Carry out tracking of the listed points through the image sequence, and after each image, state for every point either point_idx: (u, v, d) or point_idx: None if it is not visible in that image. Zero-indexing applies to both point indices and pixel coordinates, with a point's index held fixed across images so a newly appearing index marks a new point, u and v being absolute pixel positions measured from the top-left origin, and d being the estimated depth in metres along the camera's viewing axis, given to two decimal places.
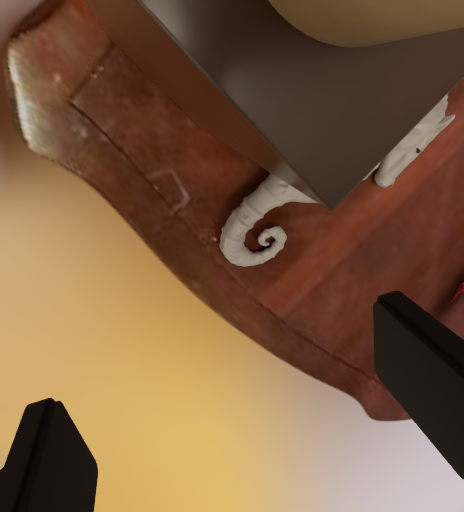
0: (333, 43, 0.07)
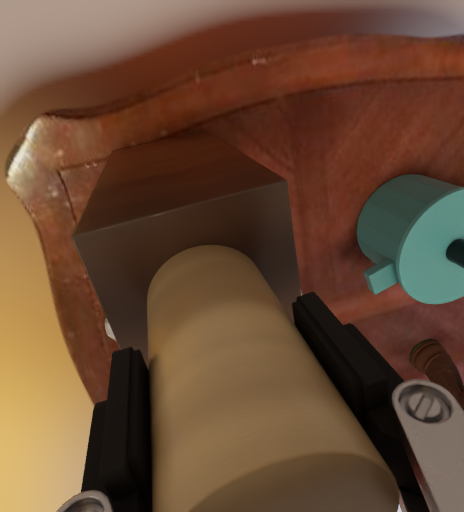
0: None
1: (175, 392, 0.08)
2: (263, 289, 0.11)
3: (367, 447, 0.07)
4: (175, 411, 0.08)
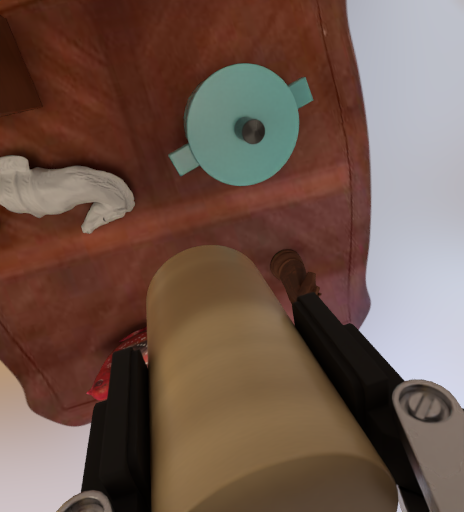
0: None
1: (174, 393, 0.08)
2: (262, 290, 0.11)
3: (366, 448, 0.07)
4: (175, 411, 0.08)
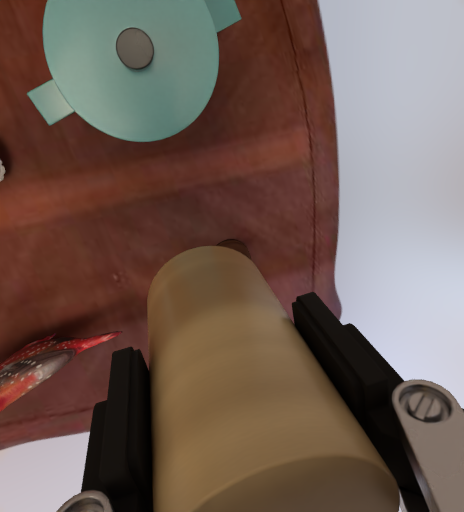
0: None
1: (176, 394, 0.08)
2: (263, 290, 0.11)
3: (368, 450, 0.07)
4: (176, 412, 0.08)
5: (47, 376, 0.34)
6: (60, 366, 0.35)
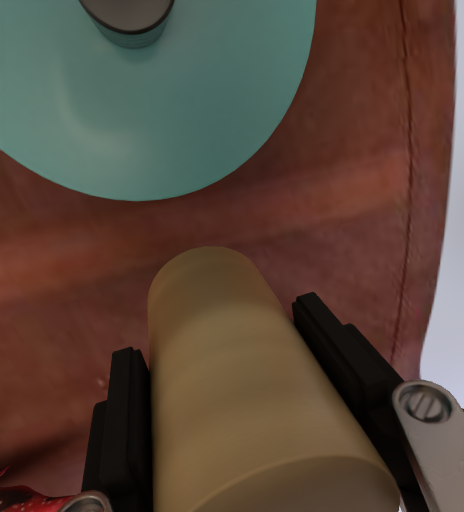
0: None
1: (176, 394, 0.08)
2: (264, 291, 0.11)
3: (368, 450, 0.07)
4: (177, 413, 0.08)
5: None
6: None
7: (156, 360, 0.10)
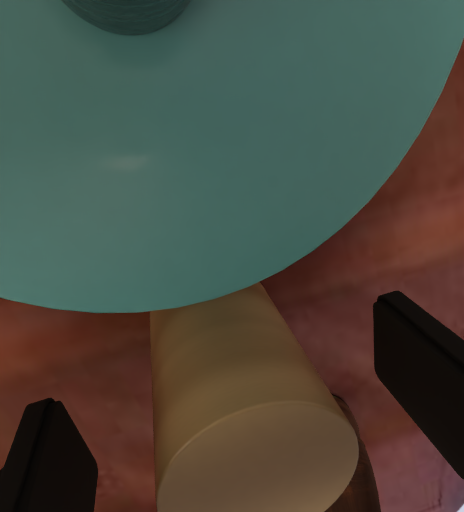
0: None
1: (173, 363, 0.09)
2: None
3: (329, 403, 0.08)
4: (174, 377, 0.09)
5: None
6: None
7: (157, 340, 0.11)
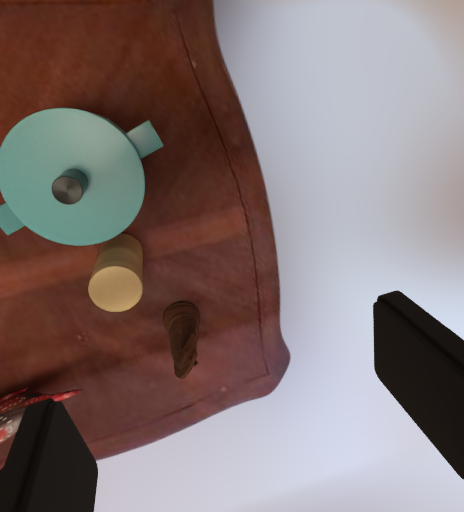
0: None
1: (96, 264, 0.35)
2: (130, 245, 0.38)
3: (130, 269, 0.33)
4: (95, 266, 0.34)
5: None
6: None
7: (95, 262, 0.37)
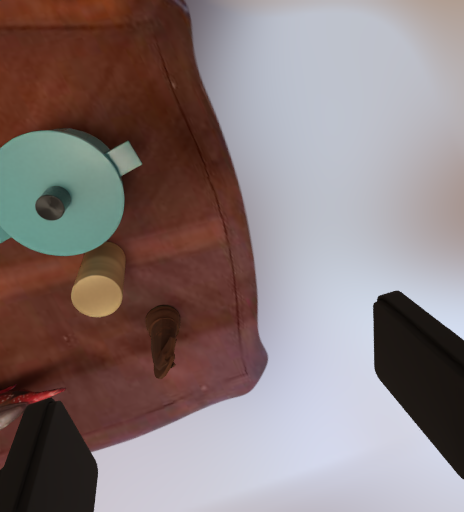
0: None
1: (79, 272, 0.37)
2: (112, 253, 0.41)
3: (111, 277, 0.36)
4: (78, 274, 0.37)
5: (4, 425, 0.42)
6: (15, 417, 0.43)
7: (79, 269, 0.39)
